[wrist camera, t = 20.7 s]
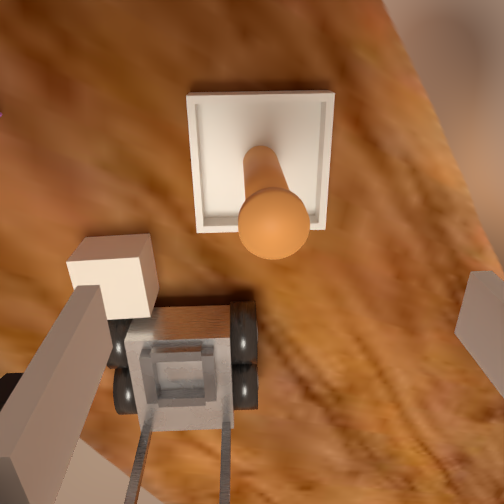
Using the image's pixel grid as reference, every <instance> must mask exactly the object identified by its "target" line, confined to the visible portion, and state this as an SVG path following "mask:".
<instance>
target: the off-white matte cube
mask: <svg viewBox="0 0 504 504" xmlns="http://www.w3.org/2000/svg"><path fill="white" fill-rule="evenodd" d="M66 263H67V267H68V270H69V274H70V277H71V281H72V284H73V288H74V290H75V288H76V287H77V286H79V285H100V289H101V293H102V298H103V303H104V307H105V312H106V317H107V320H113V319H129V318H145V317H151V314H152V311H153V308H154V304H155V301H156V298H157V295H158V292H159V283H158V277H157V271H156V266H155V260H154V254H153V249H152V243H151V237H150V233H148V234H132V235H115V236H99V237H85V238H84V240H83V241H82V242H81V243H80V245H79V246H78V247H77V248H76V250H75V251H74V252H73V254H72V255H71V256H70V257H69V259H68V260H67V261H66Z"/></svg>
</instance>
